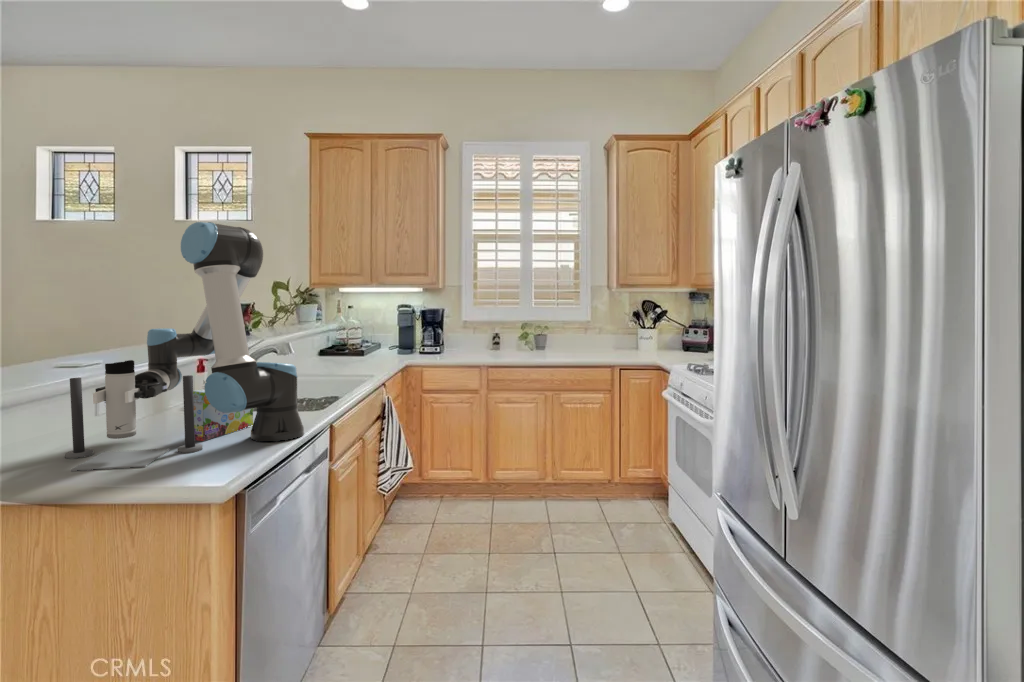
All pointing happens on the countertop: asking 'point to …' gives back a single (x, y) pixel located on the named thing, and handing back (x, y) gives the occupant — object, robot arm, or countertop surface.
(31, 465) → the countertop surface
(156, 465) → the countertop surface
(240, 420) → the snack box
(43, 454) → the countertop surface
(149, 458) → the mat
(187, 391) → the post
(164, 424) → the countertop surface
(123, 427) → the travel mug
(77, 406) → the post
